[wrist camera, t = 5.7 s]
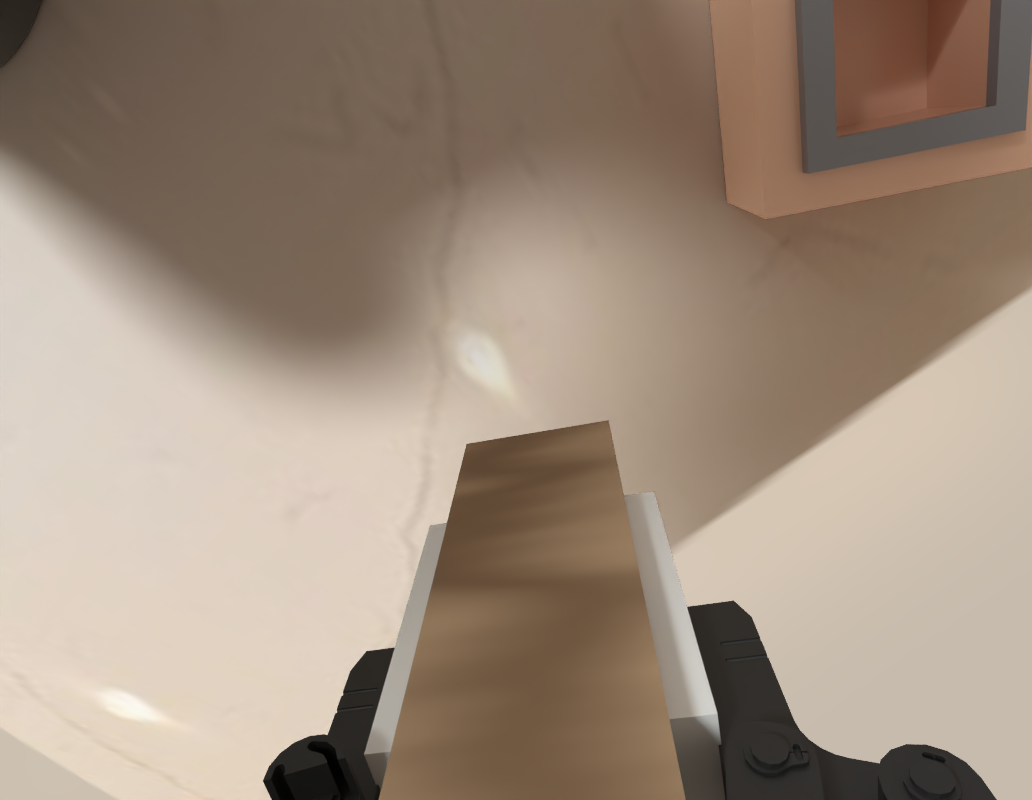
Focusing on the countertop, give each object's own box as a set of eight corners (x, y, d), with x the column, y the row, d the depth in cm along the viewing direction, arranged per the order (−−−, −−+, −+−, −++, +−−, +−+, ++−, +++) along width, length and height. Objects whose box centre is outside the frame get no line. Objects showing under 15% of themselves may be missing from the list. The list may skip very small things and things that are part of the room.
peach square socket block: (726, 202, 31) (770, 221, 25) (704, -52, 27) (749, -103, 21) (959, 156, 30) (1066, 164, 24) (968, -116, 26) (1096, -190, 20)
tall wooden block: (496, 561, 21) (411, 1306, 8) (466, 444, 19) (299, 1119, 6) (628, 542, 20) (774, 1298, 7) (608, 420, 19) (747, 1097, 6)
